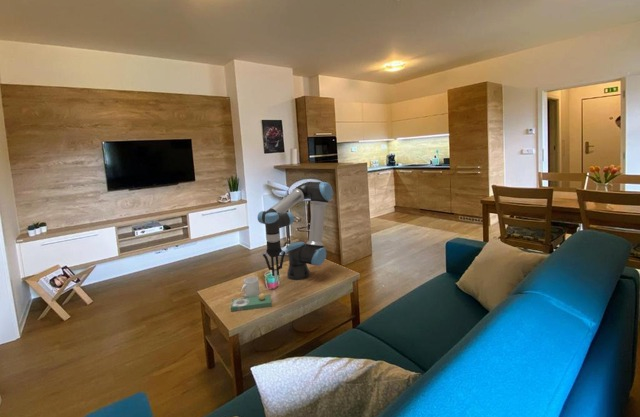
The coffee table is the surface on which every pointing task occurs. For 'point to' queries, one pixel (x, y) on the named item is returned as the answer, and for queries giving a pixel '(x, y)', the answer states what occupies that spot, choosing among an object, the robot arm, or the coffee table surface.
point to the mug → (251, 287)
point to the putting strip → (250, 303)
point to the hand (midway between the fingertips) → (276, 280)
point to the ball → (261, 296)
